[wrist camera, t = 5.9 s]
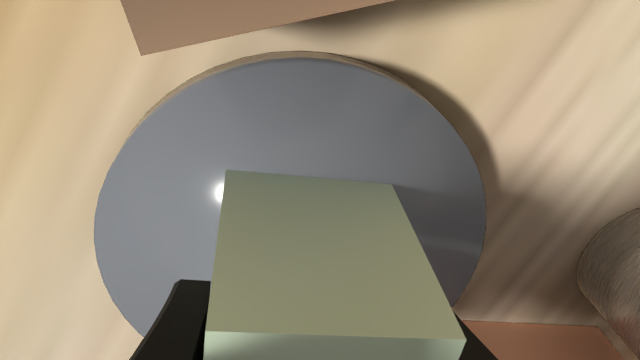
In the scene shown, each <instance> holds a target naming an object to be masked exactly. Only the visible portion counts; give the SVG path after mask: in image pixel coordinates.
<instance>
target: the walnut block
mask: <svg viewBox="0 0 640 360" xmlns="http://www.w3.org/2000/svg"><path fill="white" fill-rule="evenodd" d="M390 1H394V0H121V3H122V6H123V8H124V11H125V14H126V16H127V19H128V22H129V24H130V27H131V30H132V32H133V35H134V38H135V40H136V43H137V46H138V49H139V51H140V54H141V56H142V55H147V54H152V53H156V52H161V51H165V50H170V49H175V48H179V47H184V46H188V45H193V44H197V43H202V42H207V41H211V40H216V39H220V38H225V37H230V36H234V35H239V34H243V33H248V32H252V31H257V30H262V29H266V28H271V27H275V26H280V25H285V24H289V23H294V22H298V21H303V20H307V19H312V18H317V17H321V16H326V15H330V14H335V13H340V12H344V11H349V10H353V9H358V8H362V7H367V6H372V5H376V4H381V3H385V2H390Z"/></svg>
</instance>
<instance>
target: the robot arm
mask: <svg viewBox="0 0 640 360" xmlns="http://www.w3.org/2000/svg"><path fill="white" fill-rule="evenodd" d="M210 286H211V281H204V280H186V279H180V280H179V281H177V282H176V283H174V286H173V288H172V290H171V293H170V295H169V297H168V299H167V301H166V302H165V304H164V306H163V308H162V310H161V311H160V313H159V315H158V317H157V318H156V320H155V321H154V323H153V325H152V326H151V328H150V330H149V331H148V333H147V334H146V336H145V337H144V339H143V340H142V342H141V343H140V345H139V346H138V348H137V349H136V351H135V352H134V354H133V355H132V357H131V358H130V359H129V360H203V357H204V342H205V329H206V321H207V313H208V305H209V298H210ZM453 313H454V312H453ZM454 315H455V317H456V319H457V321H458V323H459V325H460V327H461V329H462V331H463V333H464V336H465V338H466V343H465V345H464V347H463V350H462V352H461V355H460V357H459V360H498V359H497V358H496V357H495V356H494V355H493V353H492V352H491V351H490V350H489V349H488V348H487V347H486V346H485V345H484V344H483V343H482V342H481V341H480V340H479V339H478V338H477V337H476V336H475V334H474V333H473V332H472V331H471V330H470V329H469V328H468V327H467V326H466V325H465V324H464V323H463V322H462V321H461V320H460V318H459V317H458V316H457V315H456V314H455V313H454Z"/></svg>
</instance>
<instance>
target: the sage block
mask: <svg viewBox="0 0 640 360" xmlns="http://www.w3.org/2000/svg"><path fill="white" fill-rule="evenodd" d="M465 343H466V338H465V336H464V333H463V331H462V329H461V327H460V325H459V323H458V321H457V319H456V317H455V315H454V313H453V311H452V309H451V306H450V304H449V302H448V300H447V298H446V296H445V294H444V292H443V290H442V288H441V286H440V284H439V282H438V280H437V277H436V275H435V273H434V271H433V269H432V267H431V265H430V263H429V261H428V259H427V257H426V255H425V253H424V250H423V248H422V246H421V244H420V242H419V240H418V238H417V236H416V234H415V232H414V230H413V228H412V226H411V223H410V221H409V219H408V217H407V215H406V213H405V211H404V209H403V207H402V205H401V203H400V201H399V199H398V197H397V194H396V192H395V190H394V188H393V186H392V184H383V183H372V182H360V181H349V180H338V179H326V178H315V177H303V176H292V175H281V174H269V173H258V172H246V171H235V170H226V173H225V181H224V188H223V196H222V204H221V212H220V220H219V227H218V235H217V243H216V251H215V259H214V266H213V274H212V282H211V290H210V298H209V305H208V313H207V321H206V329H205V342H204V357H203V360H459V357H460V355H461V352H462V350H463V347H464V345H465Z"/></svg>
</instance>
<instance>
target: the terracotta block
mask: <svg viewBox="0 0 640 360" xmlns="http://www.w3.org/2000/svg"><path fill="white" fill-rule="evenodd" d="M462 322H463V323H464V324H465V325H466V326H467V327H468V328H469V329H470V330H471V331H472V332H473V333H474V334H475V336H476V337H477V338H478V339H479V340H480V341H481V342H482V343H483V344H484V345H485V346H486V347H487V348H488V349H489V350H490V351H491V352H492V353H493V355H494V356H495V357H496V358H497V359H498V360H624V359H623V358H622V356H621V355H620V354H619V353H618V351H617V350H616V349H615V348H614V347H613V345H612V344H611V343H610V342H609V340H608V339H607V338H606V337H605V335H604V334H603V333H602V332H601V331H600V329H599V328H598V327H592V326H570V325H548V324H527V323H505V322H483V321H462Z"/></svg>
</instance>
